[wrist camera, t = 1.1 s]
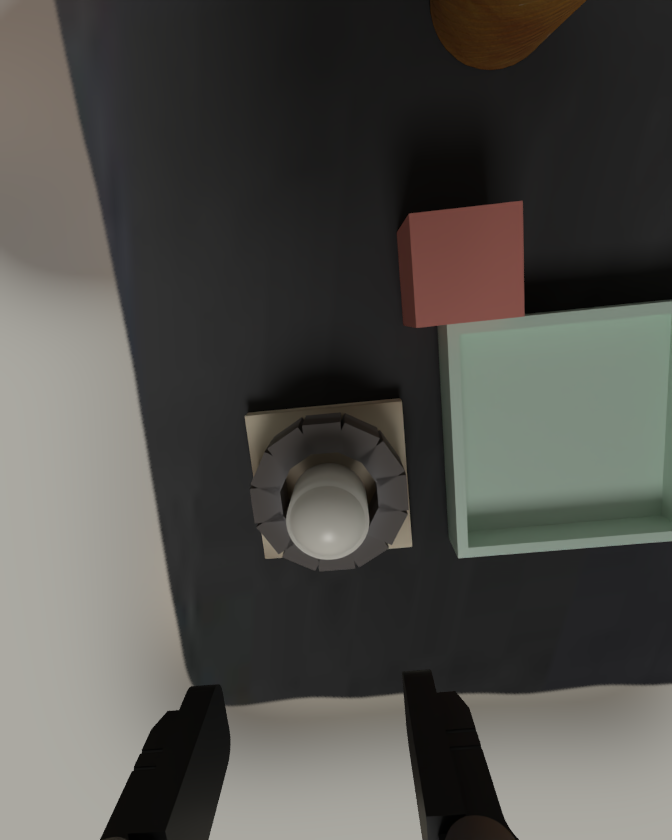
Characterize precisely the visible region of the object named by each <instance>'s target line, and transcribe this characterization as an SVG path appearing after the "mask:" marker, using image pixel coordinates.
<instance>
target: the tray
mask: <svg viewBox="0 0 672 840" xmlns="http://www.w3.org/2000/svg"><path fill="white" fill-rule="evenodd" d="M437 329H438V348H439V367H440V386H441V405H442V424H443V443H444V462H445V480H446V499H447V518H448V537H449V540H450V542H451V544H452V546H453V548H454V550H455V552H456V555H457V557H458V558H468V557H480V556H493V555H505V554H517V553H529V552H542V551H554V550H566V549H579V548H591V547H603V546H615V545H628V544H640V543H652V542H664V541H672V299H670V300H660V301H650V302H640V303H630V304H620V305H610V306H601V307H591V308H581V309H571V310H561V311H551V312H541V313H531V314H525V317H516V318H506V319H496V320H487V321H477V322H468V323H458V324H448V325H439V326H437Z"/></svg>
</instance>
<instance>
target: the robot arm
mask: <svg viewBox="0 0 672 840" xmlns="http://www.w3.org/2000/svg"><path fill="white" fill-rule="evenodd" d="M402 679H403V691H404V703H405V714H406V726H407V736H408V743H409V751H410V758H411V765H412V772H413V778H414V785H415V792H416V799H417V805H418V812H419V818H420V826H421V833H422V839H423V840H519V839H518V838H517V837H516V836H515V835H514V834H513V832H512V831H511V830H510V828H509V827H508V825H507V823H506V821H505V819H504V816H503V814H502V811H501V807H500V804H499V801H498V798H497V795H496V791H495V788H494V785H493V782H492V779H491V776H490V772H489V769H488V766H487V763H486V760H485V757H484V753H483V750H482V749H481V744H480V741H479V738H478V735H477V732H476V729H475V725H474V722H473V719H472V715H471V712H470V709H469V707H468V706H467V705H466V704H465V702H464V701H463V700H462V699H461V698H460V696H459V695H458V694H457V693H456V692H455V691H453V692H439V693H436V689H435V684H434V680H433V676H432V672H431V670H417V671H403V672H402ZM229 755H230V731H229V725H228V720H227V714H226V708H225V703H224V697H223V692H222V688H221V686H220V685H219V684H218V685H204V686H191V687H190V688H189V689H188V691H187V693H186V695H185V697H184V700H183V702H182V705H181V707H180V709H179V710H176V711H167V713H166V714H165V715H164V716H163V717H162V718H161V719H160V720H159V722H158V723H157V724H156V725H155V726H154V727H153V728H152V730H151V731H150V734H149V736H148V738H147V740H146V742H145V744H144V746H143V749H142V754H140V755H139V757H138V760H137V762H136V764H135V766H134V771H132V773H131V775H130V777H129V779H128V781H127V783H126V785H125V788H124V789H123V792H122V794H121V796H120V798H119V800H118V803H117V805H116V807H115V809H114V811H113V813H112V815H111V817H110V820H109V822H108V824H107V826H106V828H105V830H104V832H103V835H102V837H101V839H100V840H208V839H209V835H210V831H211V827H212V823H213V819H214V816H215V812H216V808H217V804H218V800H219V797H220V793H221V789H222V785H223V781H224V777H225V773H226V770H227V766H228V761H229Z"/></svg>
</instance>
